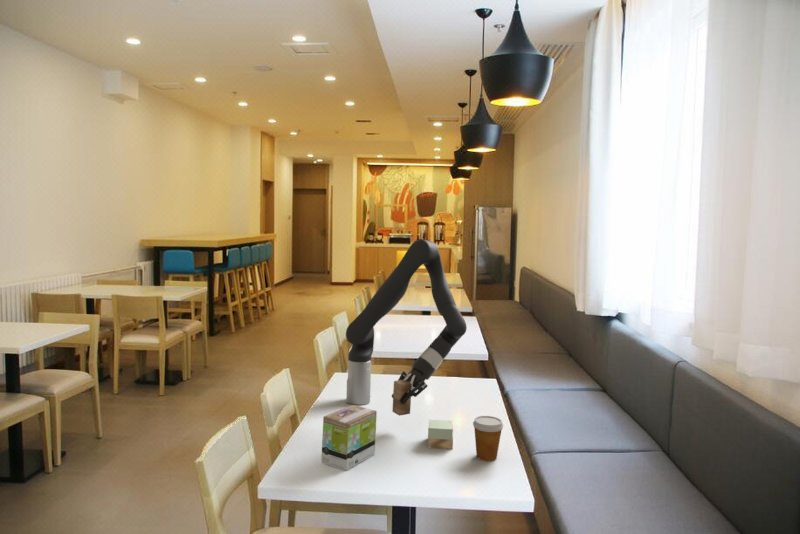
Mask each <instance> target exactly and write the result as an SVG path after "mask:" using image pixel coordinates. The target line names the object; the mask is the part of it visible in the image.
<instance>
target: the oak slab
mask: <svg viewBox="0 0 800 534" xmlns="http://www.w3.org/2000/svg"><path fill="white" fill-rule="evenodd" d="M427 438H428V437H427ZM427 442H428V443H427V447H430V448H429V449H442V448H449V449H448V450H453V447H454V445H453V444H454V438H453V439H452V440H447V439H430V438H428V441H427Z"/></svg>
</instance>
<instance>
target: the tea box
mask: <svg viewBox="0 0 800 534" xmlns="http://www.w3.org/2000/svg"><path fill="white" fill-rule="evenodd" d="M377 415H378V414H377V410H375V409H371V408H368V407H367V408H366V407H363V406H359V405H355V404H350V405H348V406H346V407H344V408H341V409H339V410H337V411H334V412H331V413H329V414H327V415H324V416H323V419H322V438H321V439H322V441H321V444H322V445H321V460H320V461H321V463H322V464H324V465H328V466H331V467H333V468H336V469H339V470H342V471H345V472H346V471H347V470H349V469H351V468H353V467H354V466H357V465H358V464H361V462H364V461H365V460H368V459H369V458H371V457H373V456H374V455H375V452H376V434H377V433H376V432H377V431H376V430H377ZM367 458H368V459H367Z"/></svg>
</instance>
